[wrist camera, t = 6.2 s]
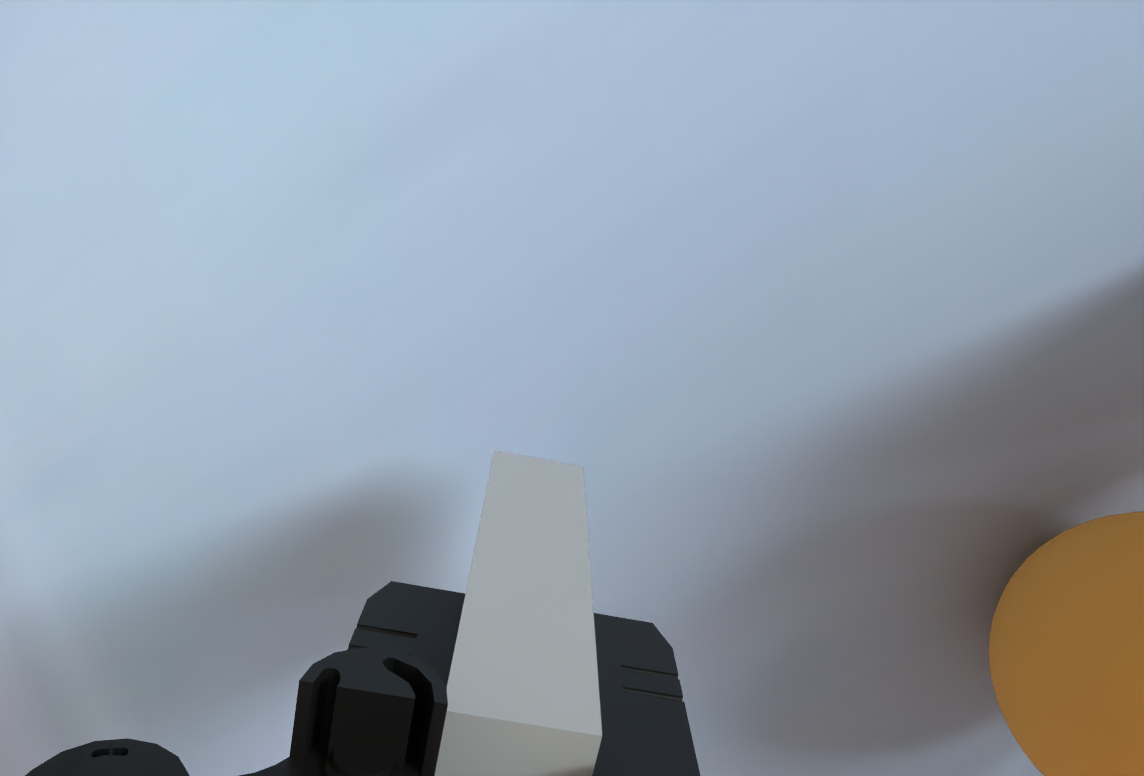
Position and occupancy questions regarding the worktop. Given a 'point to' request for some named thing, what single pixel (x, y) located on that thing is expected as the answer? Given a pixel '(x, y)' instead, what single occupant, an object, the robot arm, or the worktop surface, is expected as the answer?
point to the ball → (1076, 650)
